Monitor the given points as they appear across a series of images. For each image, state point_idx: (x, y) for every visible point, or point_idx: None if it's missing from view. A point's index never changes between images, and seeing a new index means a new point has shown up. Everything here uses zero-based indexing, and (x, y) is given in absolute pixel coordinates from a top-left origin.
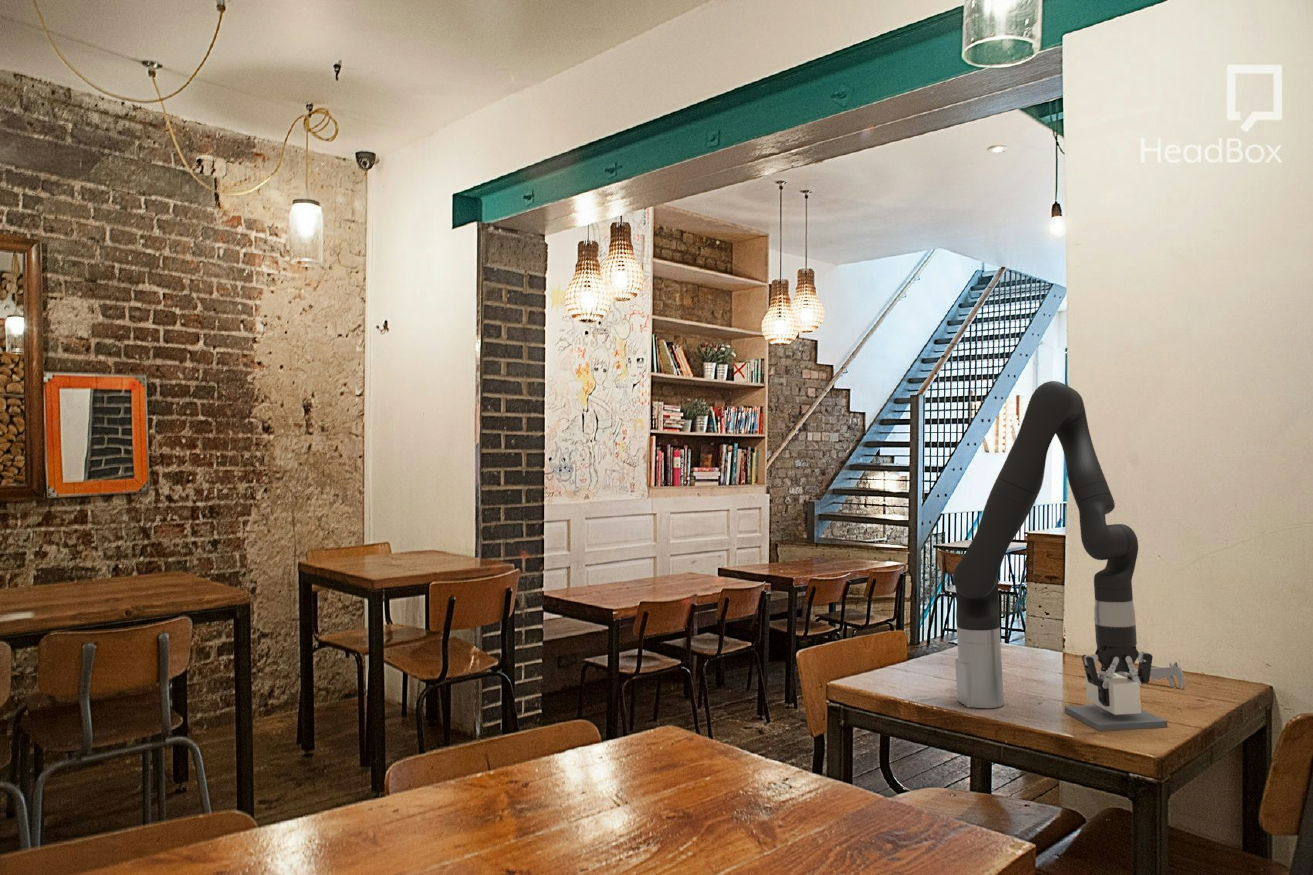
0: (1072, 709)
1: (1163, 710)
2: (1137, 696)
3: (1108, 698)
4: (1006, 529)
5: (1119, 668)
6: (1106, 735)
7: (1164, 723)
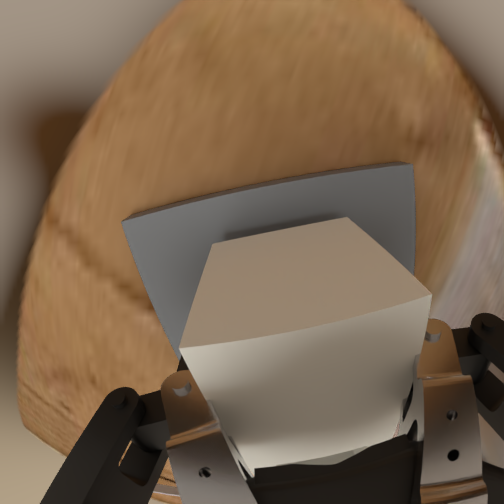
0: None
1: (123, 374)
2: (217, 281)
3: None
4: None
5: (353, 484)
6: (393, 109)
7: (135, 215)
